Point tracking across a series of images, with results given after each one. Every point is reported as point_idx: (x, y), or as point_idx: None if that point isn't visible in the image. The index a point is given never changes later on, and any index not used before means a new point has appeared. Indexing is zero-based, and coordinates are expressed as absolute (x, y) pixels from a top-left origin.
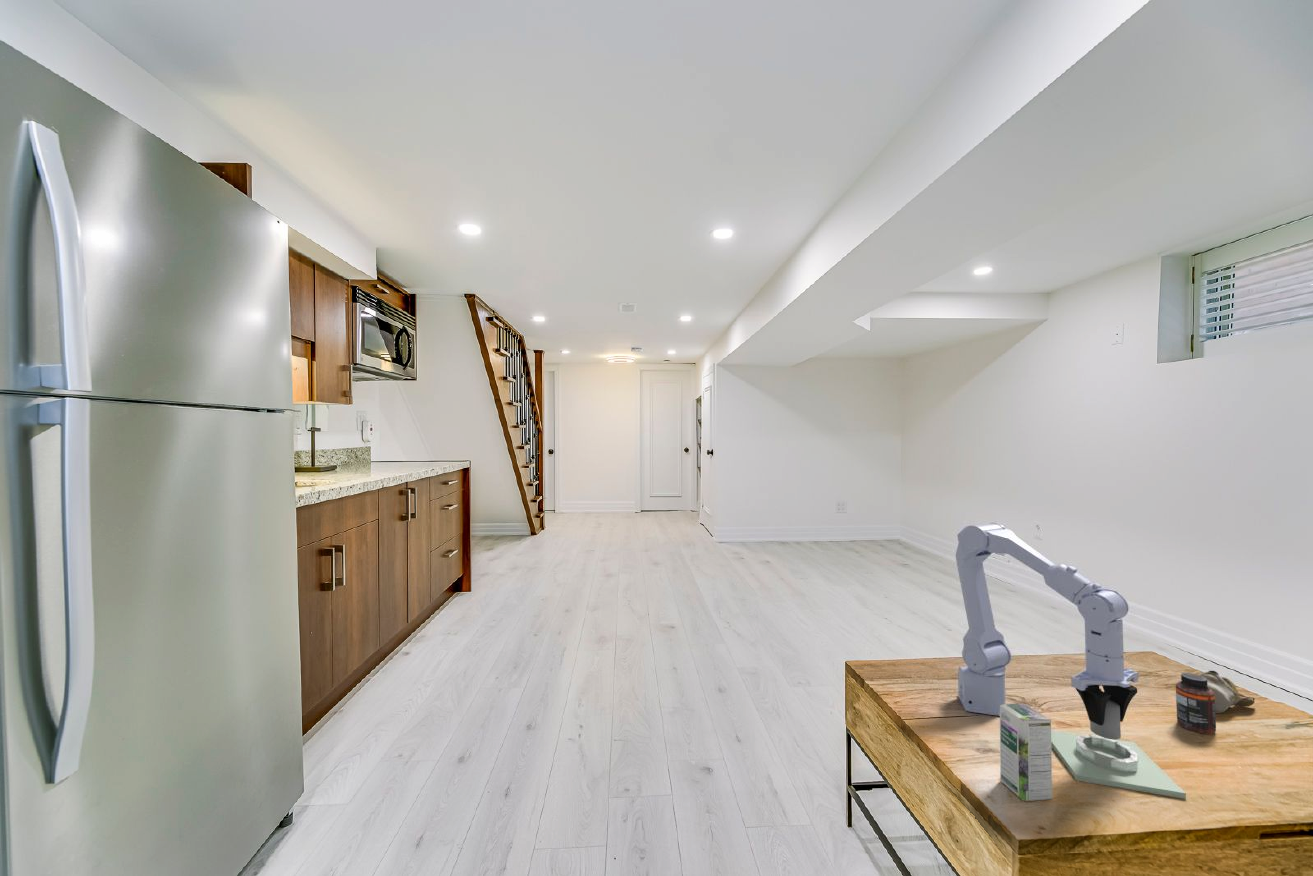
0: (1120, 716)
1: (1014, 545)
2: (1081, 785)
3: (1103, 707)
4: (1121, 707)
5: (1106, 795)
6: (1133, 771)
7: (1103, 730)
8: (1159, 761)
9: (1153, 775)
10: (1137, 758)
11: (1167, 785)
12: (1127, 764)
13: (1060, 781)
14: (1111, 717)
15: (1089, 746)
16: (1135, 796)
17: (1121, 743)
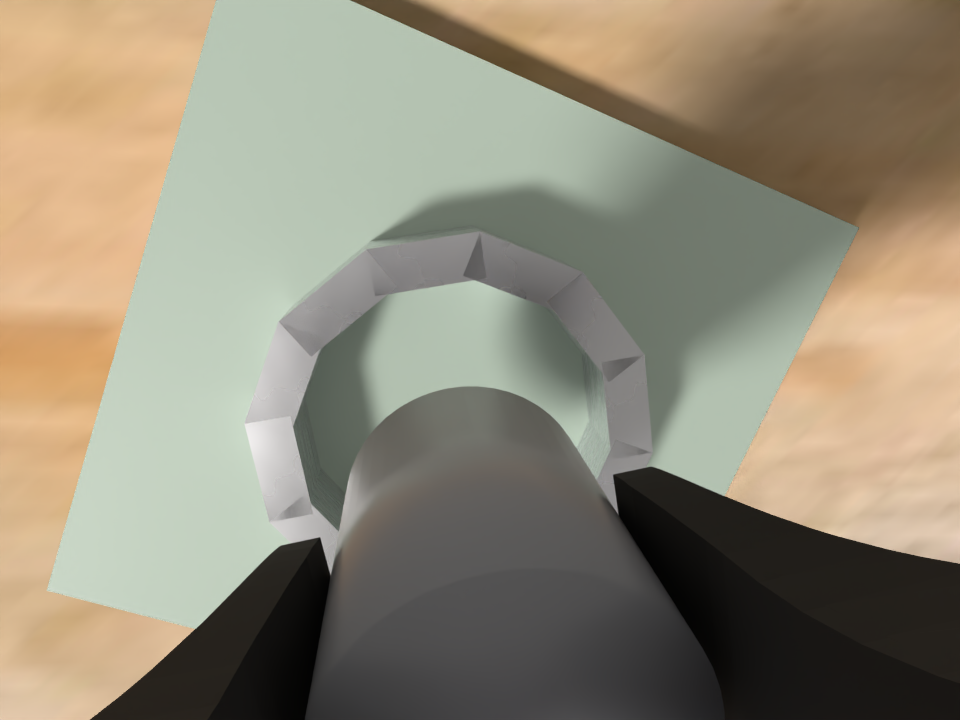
0: (307, 576)
1: None
2: (850, 175)
3: (804, 558)
4: (263, 667)
5: (785, 59)
6: (407, 235)
7: (578, 455)
8: (18, 405)
9: (284, 185)
10: (327, 281)
11: (292, 53)
12: (469, 232)
13: (944, 224)
14: (554, 497)
15: None
16: (595, 30)
17: (265, 493)
